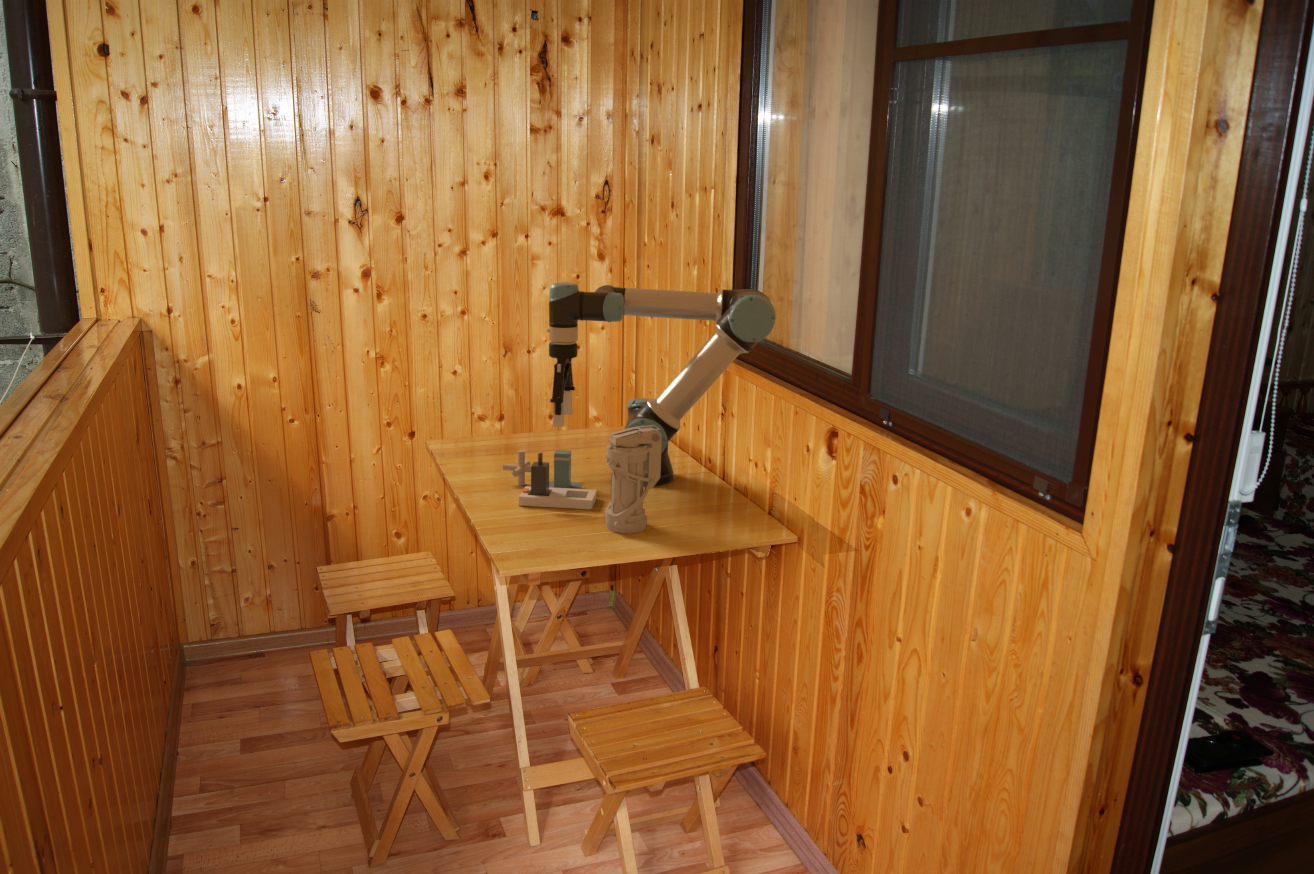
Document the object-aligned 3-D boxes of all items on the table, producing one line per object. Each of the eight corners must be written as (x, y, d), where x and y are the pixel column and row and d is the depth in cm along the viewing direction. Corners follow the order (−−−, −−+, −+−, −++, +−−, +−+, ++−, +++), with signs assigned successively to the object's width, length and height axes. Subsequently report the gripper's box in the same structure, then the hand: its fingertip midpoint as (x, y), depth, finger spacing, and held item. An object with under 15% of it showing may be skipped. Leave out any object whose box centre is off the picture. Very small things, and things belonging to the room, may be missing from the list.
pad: (583, 484, 289) (583, 482, 289) (577, 495, 279) (577, 493, 279) (547, 482, 289) (547, 480, 289) (541, 493, 280) (541, 491, 280)
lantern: (612, 535, 250) (614, 435, 244) (599, 521, 260) (601, 424, 253) (662, 530, 255) (666, 432, 248) (648, 517, 264) (651, 421, 258)
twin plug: (548, 498, 274) (549, 451, 270) (546, 503, 270) (546, 455, 266) (533, 498, 274) (534, 450, 270) (531, 502, 270) (531, 454, 267)
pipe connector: (533, 493, 280) (533, 457, 277) (498, 489, 282) (497, 454, 279) (544, 482, 289) (544, 447, 287) (510, 479, 291) (510, 444, 289)
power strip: (596, 500, 275) (596, 488, 274) (591, 511, 267) (592, 498, 266) (525, 496, 277) (525, 484, 276) (518, 507, 268) (518, 494, 267)
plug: (571, 485, 286) (571, 450, 283) (568, 489, 282) (569, 454, 279) (556, 484, 286) (556, 449, 284) (553, 488, 282) (553, 453, 280)
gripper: (557, 334, 286) (556, 408, 291) (540, 349, 262) (540, 431, 267) (584, 335, 286) (583, 410, 291) (570, 351, 261) (569, 432, 267)
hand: (562, 420), depth 279 cm, fingers open, 13 cm apart
